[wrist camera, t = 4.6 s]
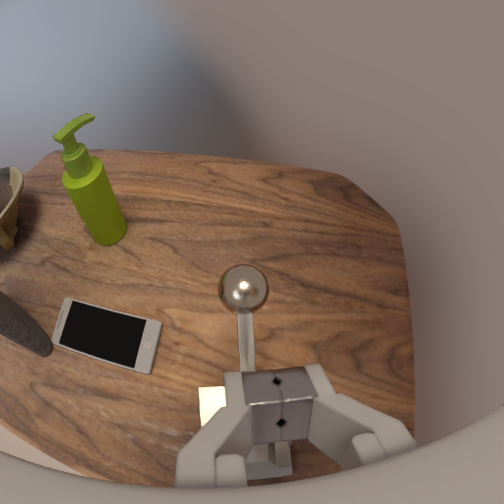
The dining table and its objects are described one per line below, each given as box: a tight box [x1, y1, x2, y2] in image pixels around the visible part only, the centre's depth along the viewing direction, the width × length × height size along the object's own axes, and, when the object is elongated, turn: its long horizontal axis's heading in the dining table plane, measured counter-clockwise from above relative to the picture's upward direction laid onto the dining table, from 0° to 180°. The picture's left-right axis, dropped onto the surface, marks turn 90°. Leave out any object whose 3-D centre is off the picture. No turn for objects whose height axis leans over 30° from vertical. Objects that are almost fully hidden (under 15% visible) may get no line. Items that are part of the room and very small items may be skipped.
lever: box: [218, 264, 269, 464], centre depth 21 cm, size 15×4×4 cm, turn 5°
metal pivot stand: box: [198, 386, 293, 480], centre depth 25 cm, size 12×10×15 cm
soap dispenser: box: [53, 113, 127, 246], centre depth 36 cm, size 6×7×20 cm
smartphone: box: [51, 297, 163, 375], centre depth 35 cm, size 7×16×1 cm, turn 82°
